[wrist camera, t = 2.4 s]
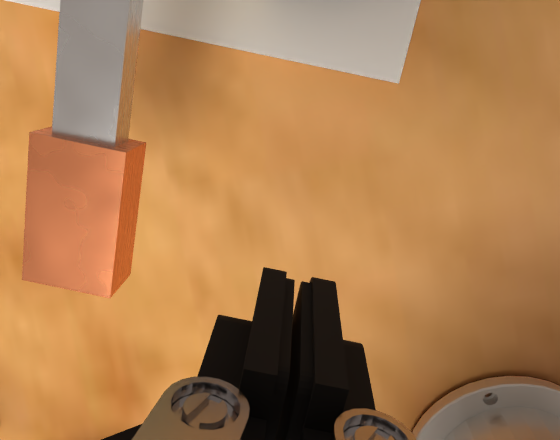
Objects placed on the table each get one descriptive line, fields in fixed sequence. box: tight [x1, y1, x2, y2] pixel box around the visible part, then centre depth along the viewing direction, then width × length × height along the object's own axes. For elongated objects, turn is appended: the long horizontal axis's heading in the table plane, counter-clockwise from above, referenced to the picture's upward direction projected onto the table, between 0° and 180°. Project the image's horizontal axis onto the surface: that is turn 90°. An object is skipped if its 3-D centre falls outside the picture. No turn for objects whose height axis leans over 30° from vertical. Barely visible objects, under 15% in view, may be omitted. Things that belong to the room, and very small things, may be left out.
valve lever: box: [22, 0, 146, 298], centre depth 16 cm, size 17×4×2 cm, turn 169°
